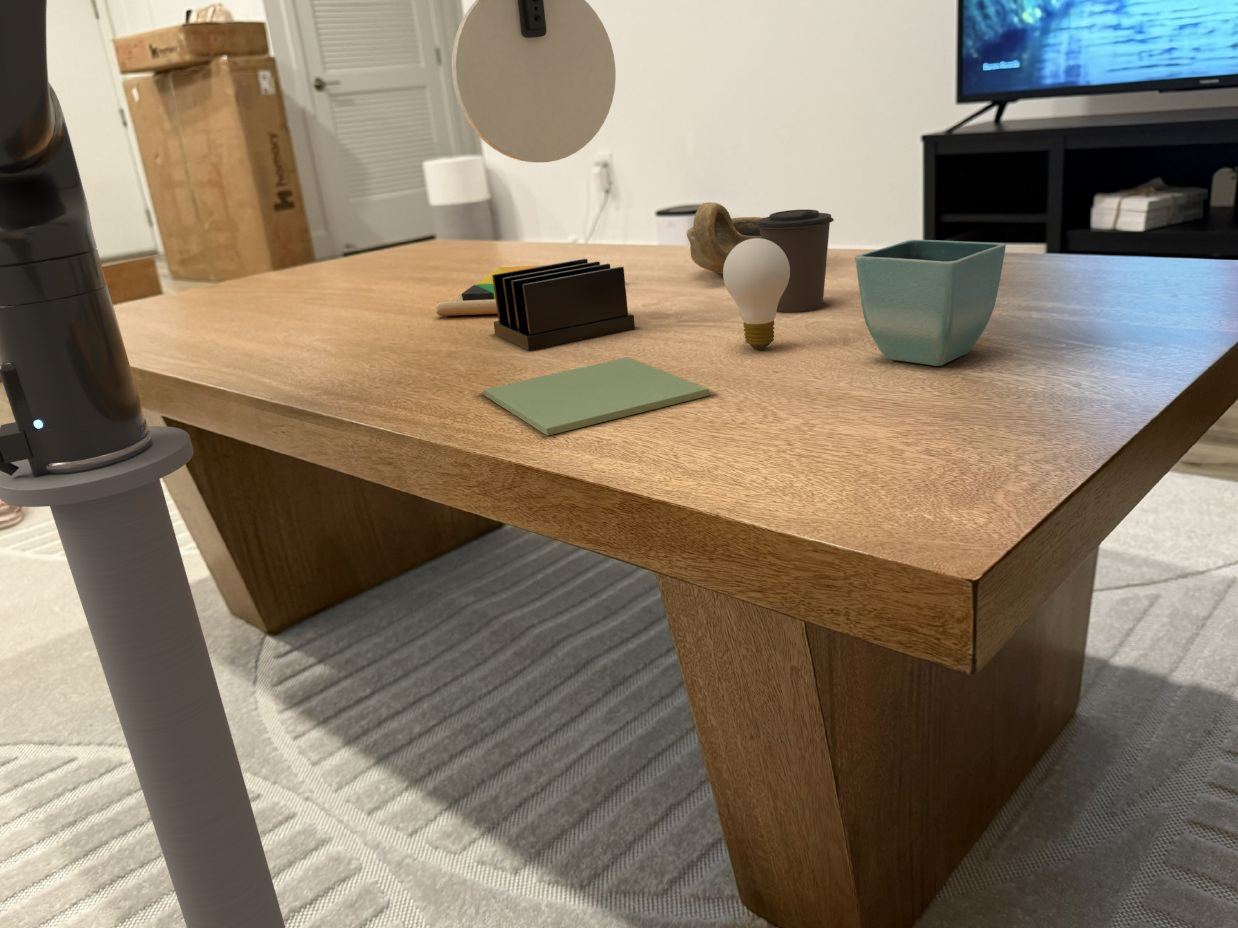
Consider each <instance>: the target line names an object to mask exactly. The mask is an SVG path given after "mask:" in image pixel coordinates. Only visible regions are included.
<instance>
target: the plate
mask: <svg viewBox="0 0 1238 928" xmlns="http://www.w3.org/2000/svg"><path fill="white" fill-rule="evenodd" d="M543 2H544V12H545V21H546V34H545V35H544V36H542V37H532V38H525V37H524V36H523V35H522V33H521V25H520V16H519V8H518V0H474V2H473V3H472V4H471V6H470V7H469V8H468V10H467V11H466V12H465V14H464V16H463V17H462V19H461V21H460V24H459V26H458V28H457V31H456V34H455V37H454V42H453V47H452V52H451V76H452V83H453V88H454V89H453V90H454V94H455V96H456V99H457V103H458V105H459V107H460V110H461V112H462V115H464V117H465V119H466V120H467V122H468V124H469V126H470V127H471V129H473V131H474V132H475V134H477V135H478V136H479V138H481V139H482V141H483V142H484V143H486V144H487V145H488V146H489V147H490V148H492V149H493V150H495V151H497V152H498V153H500V154H501V155H504V156H506V157H508V158H511V159H513V160H516V161H521V162H527V163H550V162H551V163H552V162H557V161H560V160H562V159H566V158H568V157H570V156H572V155H574V154H576V153H578V152H579V151H581V150H582V149H583V148H585V147H586V146H587V145H588V144H589V143H590V142H591V141H592V140H593V139H594V138H595V136H596V135H597V134H598V133H599V131H600V130H601V128H602V126H603V125H604V124H605V122H606V119H607V117H608V115H609V114H610V110H611V108H612V104H613V101H614V96H615V91H616V61H615V54H614V50H613V46H612V42H611V40H610V37H609V34H608V32H607V30H606V28H605V26H604V23H603V22H602V20H601V18H600V17H599V15H598V14H597V12H596V11H595V10H594V8H593V7H592V6H591V5H590V3H589V2H588V1H586V0H543Z"/></svg>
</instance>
